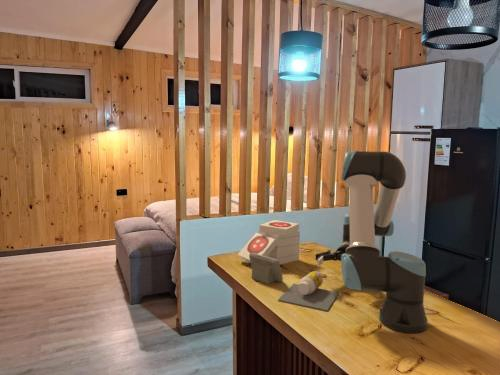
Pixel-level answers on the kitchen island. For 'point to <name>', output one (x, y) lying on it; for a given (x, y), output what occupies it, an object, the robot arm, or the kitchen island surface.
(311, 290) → the supplement bottle
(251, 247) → the pizza boxes
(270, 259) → the digital clock
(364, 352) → the kitchen island surface
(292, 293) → the mat
